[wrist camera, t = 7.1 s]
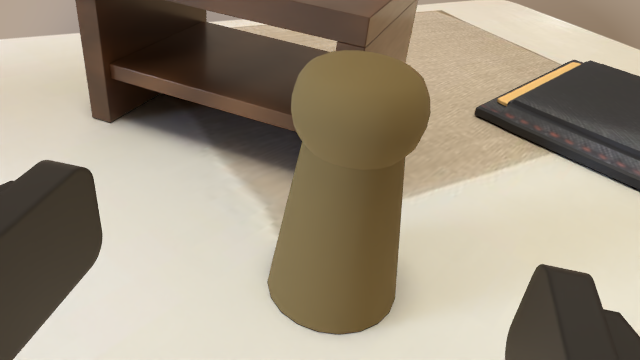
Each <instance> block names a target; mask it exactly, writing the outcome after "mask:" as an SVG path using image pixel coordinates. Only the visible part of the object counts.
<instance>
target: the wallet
mask: <svg viewBox="0 0 640 360" xmlns="http://www.w3.org/2000/svg"><path fill="white" fill-rule="evenodd" d="M475 115H476V116H478V117H481V118H483V119H485V120H487V121H490V122H492V123H494V124H496V125H498V126H500V127H502V128H504V129H506V130H508V131H510V132H512V133H514V134H517V135H519V136H521V137H523V138H525V139H528V140H530V141H532V142H534V143H536V144H539V145H541V146H543V147H545V148H547V149H550V150H552V151H554V152H556V153H558V154H561V155H563V156H565V157H567V158H569V159H572V160H574V161H576V162H578V163H580V164H583V165H585V166H587V167H589V168H591V169H594V170H596V171H598V172H600V173H603V174H605V175H607V176H609V177H611V178H614V179H616V180H618V181H620V182H622V183H625V184H627V185H629V186H632V187H634V188H636V189H639V190H640V76H637V75H634V74H631V73H628V72H625V71H622V70H619V69H616V68H613V67H610V66H607V65H604V64H599V63H596V62H593V61H588V62H585V63H583V62H580V61H577V60H572V61H570V62H567V63H565V64H563V65H561V66H560V67H558V68H556V69H554V70H552V71H550V72H548V73H546V74H544V75H542V76H540V77H538V78H536V79H534V80H532V81H530V82H528V83H525V84H523V85H521V86H519V87H517V88H515V89H513V90H511V91H509V92H507V93H505V94H503V95H501V96H499V97H497V98H495V99H493V100H491V101H489V102H487V103H485V104H483V105H480V106H479V107H477V108H476V111H475Z"/></svg>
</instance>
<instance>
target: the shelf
mask: <svg viewBox="0 0 640 360" xmlns="http://www.w3.org/2000/svg"><path fill="white" fill-rule="evenodd" d="M417 3H418V0H76V7H77V14H78V21H79V27H80V35H81V41H82V48H83V55H84V62H85V69H86V76H87V82H88V89H89V96H90V103H91V110H92V116H93V117H94V118H97V119H100V120H104V121H107V122H112V121H114V120H116V119H118V118H119V117H121V116H123V115H124V114H126V113H128V112H130V111H131V110H133V109H135V108H136V107H138V106H140V105H142V104H143V103H145V102H147V101H149V100H150V99H152V98H154V97H155V96H157V95H159V94H161V93H163V94H167V95H170V96H174V97H177V98H181V99H184V100H188V101H191V102H195V103H198V104H202V105H205V106H208V107H212V108H215V109H219V110H222V111H226V112H229V113H233V114H236V115H240V116H243V117H247V118H250V119H254V120H257V121H260V122H264V123H267V124H271V125H274V126H278V127H281V128H285V129H288V130H292V131H295V132H297V131H296V129H295V127H294V124H293V119H292V114H291V101H292V93H293V90H294V86H295V83H296V81H297V78H298V75H299V73H300V72H301V71H302V69H303V68H304V67H305V66H306V64H307V63H308V62H310V61H311V60H312V59H314V58H316V57H318V56H321V55H323V54H327V53H330V52H327V51H323V50H319V49H315V48H311V47H307V46H303V45H299V44H294V43H290V42H286V41H282V40H278V39H274V38H270V37H266V36H262V35H257V34H253V33H249V32H245V31H241V30H237V29H233V28H229V27H224V26H220V25H216V24H212V23H208V22H206V10H208V11H212V12H216V13H221V14H225V15H229V16H233V17H237V18H242V19H246V20H250V21H254V22H259V23H263V24H267V25H271V26H275V27H280V28H284V29H288V30H292V31H297V32H301V33H305V34H309V35H314V36H318V37H322V38H326V39H331V40H335V41H337V47H336V51H342V50H359V51H367V52H374V53H378V54H383V55H387V56H390V57H393V58H395V59H398V60H400V61H402V62H404V63H405V62H406V57H407V52H408V47H409V43H410V38H411V33H412V28H413V23H414V18H415V13H416V8H417Z"/></svg>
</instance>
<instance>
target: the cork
mask: <svg viewBox="0 0 640 360" xmlns="http://www.w3.org/2000/svg"><path fill="white" fill-rule="evenodd" d="M291 114H292V119H293V124H294V127H295V129H296V131H297V134H298V136H299V137H300V139H301V140H302V144H301V148H300V152H299V156H298V160H297V164H296V168H295V172H294V176H293V180H292V184H291V188H290V192H289V196H288V201H287V205H286V209H285V213H284V217H283V221H282V225H281V229H280V233H279V237H278V241H277V245H276V249H275V253H274V257H273V261H272V265H271V269H270V274H269V278H268V286H269V291H270V295H271V298H272V299H273V301H274V302H275V304H276V305H277V306H278V308H279V309H280V311H281V312H282V313H284V314H285V315H286V316H288V317H289V318H290V319H292V320H293V321H294V322H296V323H297V324H300V325H302V326H305V327H307V328H310V329H312V330H315V331H318V332H326V333H334V334H344V333H352V332H359V331H362V330H364V329H367V328H369V327H371V326H373V325H376V324H378V323H379V322H380V321H381V320H382V319H383V318H384V317H385V316H386V315H387V314H388V313H389V312H390V309H391V307H392V304H393V302H394V299H395V290H396V276H397V262H398V248H399V235H400V221H401V207H402V193H403V180H404V166H405V156H407V155H408V154H409V153H411V152H412V151H413V150H414V149H415V148H416V146H417V144H418V142H419V141H420V139H421V137H422V135H423V133H424V131H425V130H426V128H427V124H428V120H429V117H430V97H429V93H428V89H427V87H426V84H425V81H424V79H423V77H422V76H421V75H420V74H419V73H418V72H417V71H416V70H414V69H413V68H412V67H411V66H409V65H407V64H406V63H404V62H402V61H400V60H398V59H395V58H393V57H390V56H387V55H383V54H378V53H374V52H367V51H359V50H342V51H334V52H330V53H327V54H323V55H321V56H318V57H316V58H314V59H312V60H311V61H310V62H308V63H307V64H306V66H305V67H304V68H303V69H302V71H301V72H300V73H299V75H298V78H297V81H296V83H295V86H294V90H293V93H292V101H291Z"/></svg>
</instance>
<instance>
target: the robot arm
mask: <svg viewBox="0 0 640 360" xmlns="http://www.w3.org/2000/svg"><path fill="white" fill-rule="evenodd" d="M101 245H102V229H101V222H100V216H99V210H98V204H97V197H96V191H95V185H94V179H93V176H92V173H91V172H90V170H88V169H87V168H84V167H79V166H74V165H70V164H65V163H60V162H55V161H50V160H43V161H41V162H39V163H37V164H36V165H35V166H34V167H32V168H31V169H30V170H28V171H27V172H26V173H24V174H23V175H22V176H21V177H19V178H18V179H17V180H15V181H9V182H7V183H5V184H2V185H0V360H13V359H14V358H15V356H16V355H17V354H18V353H19V352H20V351H21V349H22V348H23V347H24V346H25V345H26V344H27V342H28V341H29V340H30V339H31V338H32V336H33V335H34V334H35V333H36V332H37V331H38V329H39V328H40V327H41V326H42V325H43V324H44V322H45V321H46V320H47V319H48V318H49V316H50V315H51V314H52V313H53V312H54V311H55V309H56V308H57V307H58V306H59V305H60V304H61V302H62V301H63V300H64V299H65V298H66V296H67V295H68V294H69V293H70V292H71V291H72V289H73V288H74V287H75V286H76V285H77V284H78V282H79V281H80V280H81V279H82V278H83V276H84V275H85V274H86V273H87V272H88V271H89V269H90V268H91V267H92V266H93V264H94V263H95V261H96V259H97V257H98V255H99V252H100V249H101ZM505 360H640V337H639V336H638V334H637V333H636V332H635V331H634V330H633V328H632V327H631V326H630V325H629V324H628V322H627V321H626V320H625V319H624V318H623V316H622V315H621V314H620V313H619V312H614V311H609V310H605V309H603V308H602V304H601V301H600V298H599V295H598V292H597V289H596V286H595V283H594V281H593V278H592V277H591V276H590V275H589V274H587V273H582V272H577V271H572V270H568V269H563V268H558V267H553V266H548V265H544V264H541V265H539V266H538V267H537V268H536V270H535V271H534V273H533V276H532V278H531V280H530V282H529V285H528V287H527V289H526V292H525V294H524V296H523V299H522V301H521V303H520V305H519V308H518V310H517V312H516V315H515V317H514V319H513V321H512V324H511V326H510V329H509V333H508V337H507V342H506V351H505Z"/></svg>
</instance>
